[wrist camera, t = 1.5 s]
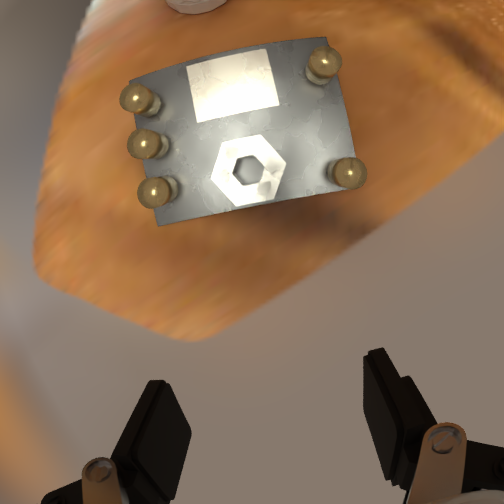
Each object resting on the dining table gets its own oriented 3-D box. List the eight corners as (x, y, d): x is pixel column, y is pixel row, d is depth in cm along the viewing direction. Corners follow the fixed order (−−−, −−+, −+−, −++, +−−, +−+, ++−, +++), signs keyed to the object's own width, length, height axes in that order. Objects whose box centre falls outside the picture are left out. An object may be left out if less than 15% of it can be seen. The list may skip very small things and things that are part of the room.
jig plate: (131, 82, 23) (112, 71, 20) (324, 39, 22) (333, 20, 18) (160, 225, 27) (143, 234, 23) (358, 186, 25) (373, 190, 21)
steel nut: (210, 148, 24) (204, 146, 22) (278, 134, 24) (279, 130, 21) (222, 206, 26) (217, 210, 23) (290, 193, 25) (292, 195, 23)
